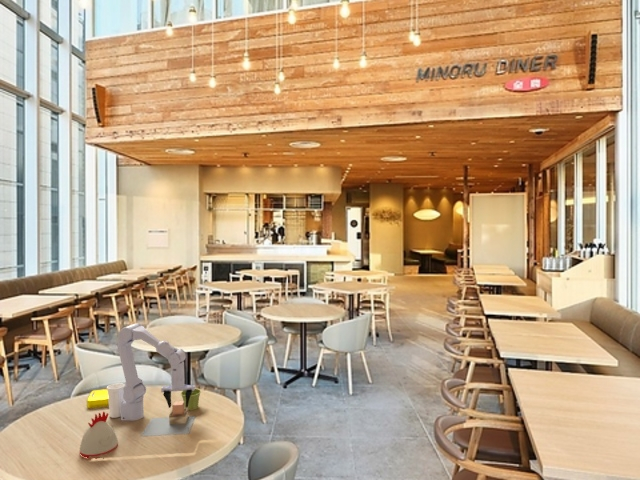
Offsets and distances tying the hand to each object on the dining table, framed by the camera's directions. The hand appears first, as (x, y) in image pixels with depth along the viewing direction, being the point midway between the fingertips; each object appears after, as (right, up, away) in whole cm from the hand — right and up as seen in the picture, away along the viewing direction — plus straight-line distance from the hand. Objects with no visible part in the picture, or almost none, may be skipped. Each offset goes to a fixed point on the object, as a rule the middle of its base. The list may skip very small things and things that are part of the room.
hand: (178, 406), depth 211 cm
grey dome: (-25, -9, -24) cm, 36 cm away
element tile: (-46, -7, +26) cm, 53 cm away
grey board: (-2, -8, -5) cm, 9 cm away
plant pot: (+2, -7, +15) cm, 16 cm away
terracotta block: (0, -3, 0) cm, 3 cm away
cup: (-32, -8, +8) cm, 34 cm away
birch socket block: (0, -6, 0) cm, 6 cm away
